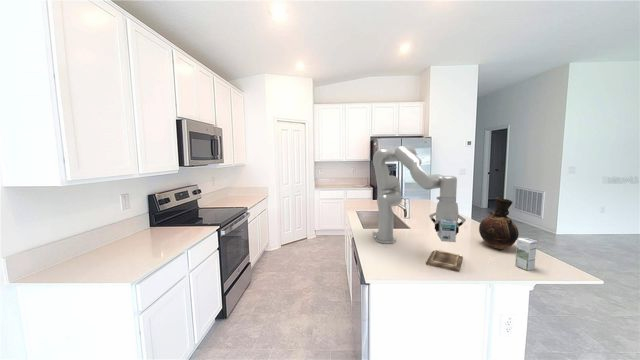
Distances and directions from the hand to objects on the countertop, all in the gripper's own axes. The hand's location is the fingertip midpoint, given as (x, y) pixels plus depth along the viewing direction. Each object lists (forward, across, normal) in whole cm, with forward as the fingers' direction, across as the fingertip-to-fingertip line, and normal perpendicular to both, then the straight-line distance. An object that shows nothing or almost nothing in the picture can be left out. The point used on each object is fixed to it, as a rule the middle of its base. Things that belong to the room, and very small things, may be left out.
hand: (446, 232), depth 129 cm
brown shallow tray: (+16, 0, 0) cm, 16 cm away
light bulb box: (+3, 0, 0) cm, 3 cm away
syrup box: (+16, +34, +14) cm, 40 cm away
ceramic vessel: (+16, +23, +39) cm, 48 cm away
